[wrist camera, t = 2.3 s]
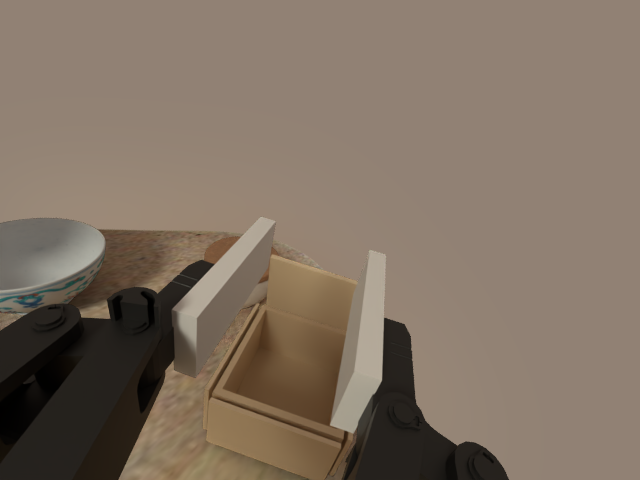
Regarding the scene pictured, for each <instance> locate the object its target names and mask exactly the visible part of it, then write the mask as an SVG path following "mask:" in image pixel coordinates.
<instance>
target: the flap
mask: <svg viewBox="0 0 640 480" xmlns="http://www.w3.org/2000/svg"><path fill="white" fill-rule="evenodd" d="M357 283H358V281H356V280H352V279H349V278H346V277H343V276H340V275H337V274H333V273H330V272H327V271H324V270H321V269H318V268H314V267H311V266H308V265H305V264H302V263H298V262H295V261H292V260H289V259H286V258H283V257H279V256H276V255H273V254H272V255H271V257H270V267H269V278H268V290H267V301H266V305H267V306H270V307H273V308H277V309H280V310H283V311H286V312H289V313H292V314H295V315H298V316H301V317H304V318H307V319H310V320H313V321H316V322H319V323H322V324H325V325H328V326H331V327H334V328H338V329H341V330H344V331H347V326H348V321H349V315H350V309H351V304H352V298H353V294H354V291H355V288H356V285H357Z"/></svg>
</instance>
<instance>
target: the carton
mask: <svg viewBox="0 0 640 480" xmlns="http://www.w3.org/2000/svg"><path fill="white" fill-rule="evenodd" d="M259 305H260V304H259V303H256V305H255V306H254V308H253V310H252V311H251V313H250V314H249V316H248V318H247V319H246V321H245V323H244V324H243V326H242V328H241V329H240V331H239V333H238V334H237V336H236V338H235V339H234V341H233V343H232V344H231V346H230V348H229V349H228V351H227V353H226V354H225V356H224V358H223V359H222V361H221V362H220V364H219V366H218V367H217V369H216V371H215V372H214V374H213V376H212V377H211V379H210V381H209V382H208V384H207V386H206V387H205V391H204V413H203V429H205V430H207V439H206V441H207V442H210V443H213V444H215V445H218V446H221V447H223V448H226V449H229V450H232V451H234V452H237V453H240V454H242V455H245V456H248V457H251V458H253V459H256V460H259V461H262V462H264V463H267V464H270V465H272V466H275V467H278V468H281V469H283V470H286V471H289V472H291V473H294V474H297V475H300V476H302V477H305V478H308V479H310V480H325V478H326V476H327V474H328V472H329V470H330V473H329V475H331V476H334V474H335V472H336V470H337V468H338V467H339V465H340V463H341V461H342V459H343V457H344V456H345V454H346V452H347V450H348V448H349V447H350V445H351V443H352V441H353V433H351V432H348V431H345V430H342V429H339V428H336V427H334V426H331V425H330V422H331V417H332V411H333V405H334V400H335V394H336V388H337V383H338V377H339V372H340V366H341V360H342V355H343V349H344V343H345V338H346V331H343V330H340V329H337V328H334V327H331V326H328V325H325V324H322V323H319V322H315V321H312V320H309V319H306V318H303V317H300V316H297V315H294V314H291V313H288V312H285V311H282V310H279V309H276V308H273V307H270V306H267V305H264V304H263V305H262V307H261V309H260V310H259ZM258 311H259V312H258Z"/></svg>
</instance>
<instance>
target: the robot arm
mask: <svg viewBox="0 0 640 480" xmlns="http://www.w3.org/2000/svg"><path fill="white" fill-rule="evenodd" d="M275 224H276V221H274V220H271V219H267V218H264V217H260V218H259V219H258V220H257V221H256V222H255V223H254V224H253V225H252V226H251V227H250V228H249V229H248V230H247V232H245V233H244V235H243V236H242V237H241V238H240V239H239V240H238V241H237V242H236V243H235V244H234V245H233V246H232V247H231V248H230V249H229V250H228V251H227V252H226V253H225V254H224V255H223V256H222V258H221V259H220V260H219V261H218V262H217V263H216V264H213V263H210V262H207V261H204V260H200V261H197V262H195V263H193V264H191V265H189V266H187V267H186V268H185V269H184V270H183V271H182V272H181V273H180V275H178V276H176V277H175V278H174V279H173V280H172V282H170V283H169V284H168V285H167V286H166V287H164V288H163V289H162V290H161V291H160V292H159V293H158V294H157V293H156V292H155V291H154V290H151V289H148V288H144V287H133V288H128V289H124V290H121V291H119V292H117V293H115V294H113V295H112V296H111V297H110V298H108V299H107V302H108V308H109V313H110V318H111V319H99V318H81V314H80V312H79V309H78V308H76V307H75V306H73V305H69V304H64V303H61V304H51V305H47V306H43V307H40V308H37V309H35V310H33V311H31V312H29V313H28V314H26V315H24V316H23V317H21V318H20V319H18V320H16V321H15V322H13V323H12V324H10V325H9V326H7V327H5V328H4V329H2V330H1V331H0V480H118V479H119V477H120V475H121V473H122V471H123V469H124V466H125V464H126V462H127V460H128V458H129V456H130V454H131V451H132V449H133V447H134V445H135V443H136V441H137V439H138V436H139V434H140V432H141V430H142V428H143V426H144V424H145V421H146V419H147V417H148V415H149V413H150V411H151V409H152V406H153V404H154V402H155V400H156V398H157V396H158V394H159V391H160V389H161V387H162V385H163V383H164V379H165V370H166V369H167V368H168V366H169V365H170V364H171V363H172V361H173V360H174V370H175V371H177V372H180V373H183V374H186V375H189V376H192V377H194V378H196V377H197V375H198V374H199V372H200V371H201V369H202V368H203V366H204V365H205V363H206V362H207V360H208V358H209V357H210V355H211V354H212V352H213V351H214V349H215V348H216V346H217V345H218V343H219V342H220V340H221V339H222V337H223V336H224V334H225V333H226V331H227V330H228V328H229V326H230V325H231V323H232V322H233V320H234V319H235V317H236V316H237V314H238V313H239V311H240V310H241V308H242V307H243V305H244V304H245V302H246V301H247V299H248V298H249V296H250V294H251V293H252V291H253V290H254V288H255V287H256V285H257V284H258V282H259V281H260V279H261V278H262V276H263V275H264V273H265V272H266V270H267V269H268V266H269V260H270V254H271V248H272V242H273V236H274V229H275ZM385 264H386V255H385V254H382V253H379V252H375V251H372V250H370V251H369V253H368V256H367V259H366V261H365V264H364V267H363V269H362V272H361V275H360V278H359V280H358V283H357V285H356V288H355V291H354V294H353V298H352V304H351V309H350V315H349V321H348V326H347V332H346V338H345V343H344V349H343V355H342V360H341V366H340V372H339V377H338V383H337V388H336V394H335V400H334V405H333V411H332V417H331V422H330V425H331V426H334V427H336V428H339V429H342V430H345V431H348V432H351V433H354V431H355V430H356V428H357V426H358V429H357V440H356V443H355V445H354V447H353V448H352V450H351V452H350V454H349V456H348V457H347V459H346V461H345V462H347V465H346V468H345V471H344V474H343V477H342V480H509V479H508V477H507V474H506V472H505V470H504V468H503V467H502V465H501V464H500V463H499V461H498V460H497V458H496V457H495V456H494V455H493V454H492V453H490V452H489V451H488V450H487V449H486V448H484V447H483V446H481V445H479V444H477V443H474V442H464V443H462V444H459V445H458V446H457V445H456V444H454V443H453V442H451V441H450V440H448V439H447V438H445V437H444V436H442V435H441V434H440V433H438V432H437V431H436V430H434V429H433V428H432V427H431V426H430V425H429V424H428V423H427V422H426V421H425V419H424V417H423V414H422V412H421V410H420V409H419V407H418V406H417V405H416V399H415V389H414V375H413V362H412V351H411V336H410V334H409V332H408V331H407V328H406V326H405V324H402V323H399V322H396V321H393V320H390V319H387V318H384V298H385Z"/></svg>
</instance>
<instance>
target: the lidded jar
mask: <svg viewBox="0 0 640 480" xmlns="http://www.w3.org/2000/svg"><path fill="white" fill-rule="evenodd" d="M240 238H241V237H229V238H224V239H221V240H218V241H216V242H214V243H213V244H212V245H210V246H209V247H208V248H207V250H206V252H205V257H204V261H207V262H210V263H213V264H216V263H217V262H218V261H219V260H220V259H221V258H222V256H223V255H224V254H225V253H226V252H227V251H228V250H229V249H230V248H231V247H232V246H233V245H234V244H235V243H236V242H237V241H238V240H239V239H240ZM272 254H273V255H276V256H279V255H278V253H277V251H276V250H275V249H274V248H273V247H272V248H271V254H270V257H271V255H272ZM269 267H270V260H269V266H268V269H267V270H266V272H265V273H264V275H263V276H262V278H261V279H260V281H259V282H258V284H257V285H256V287H255V288H254V290H253V291H252V293H251V294H250V296H249V298H248V299H247V301H246V302H245V304H244V305H243V307H242V308H241V309H244V308H248V307H250V306H252V305H254V304H256V303H258V302H260V301H261V300H263V299H264V298H265V297H266V296H267V290H268V278H269Z"/></svg>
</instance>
